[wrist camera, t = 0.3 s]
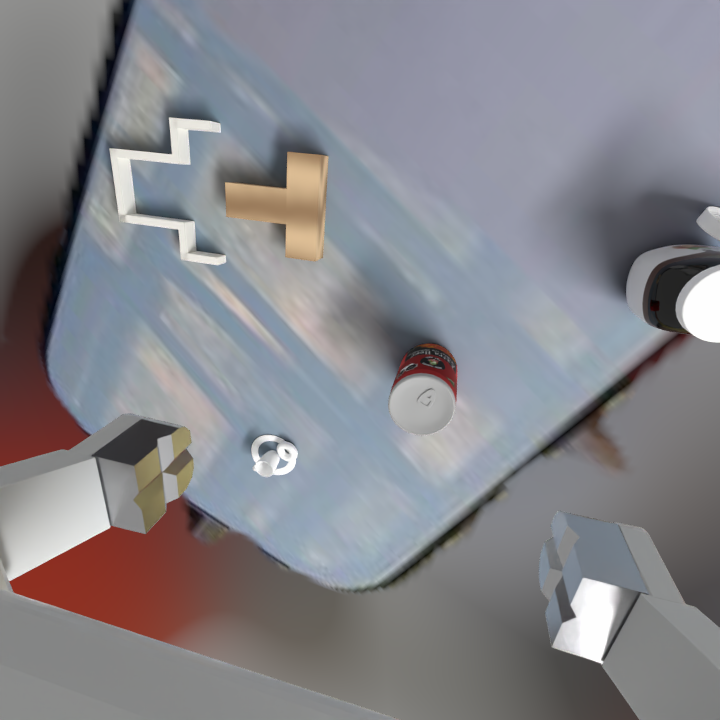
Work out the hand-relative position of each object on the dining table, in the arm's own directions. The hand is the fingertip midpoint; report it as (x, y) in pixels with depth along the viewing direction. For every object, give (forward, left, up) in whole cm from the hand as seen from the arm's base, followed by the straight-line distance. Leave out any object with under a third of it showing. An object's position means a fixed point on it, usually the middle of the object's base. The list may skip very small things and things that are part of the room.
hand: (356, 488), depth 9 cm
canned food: (+17, +1, -46) cm, 49 cm away
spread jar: (-1, +26, -46) cm, 53 cm away
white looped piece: (+39, -19, -46) cm, 64 cm away
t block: (-2, -21, -46) cm, 51 cm away
